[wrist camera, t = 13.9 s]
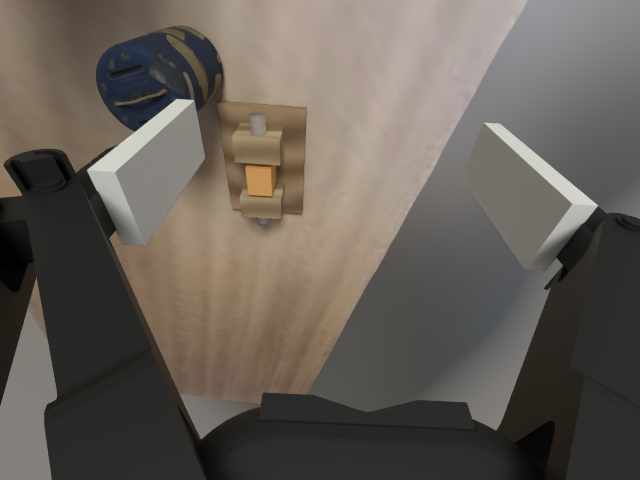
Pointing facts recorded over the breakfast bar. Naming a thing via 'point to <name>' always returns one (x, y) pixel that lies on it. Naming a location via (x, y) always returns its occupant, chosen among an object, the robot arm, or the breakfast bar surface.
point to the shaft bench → (289, 154)
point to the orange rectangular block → (260, 179)
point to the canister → (158, 74)
